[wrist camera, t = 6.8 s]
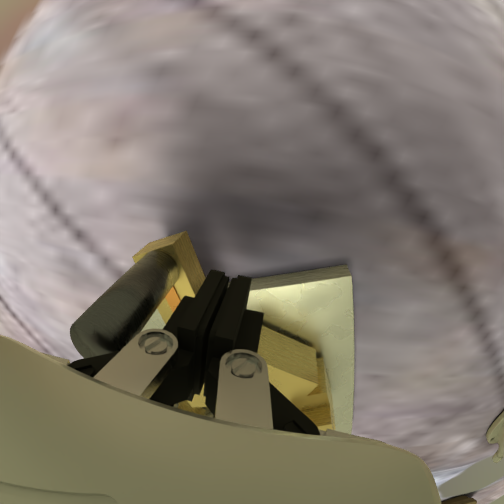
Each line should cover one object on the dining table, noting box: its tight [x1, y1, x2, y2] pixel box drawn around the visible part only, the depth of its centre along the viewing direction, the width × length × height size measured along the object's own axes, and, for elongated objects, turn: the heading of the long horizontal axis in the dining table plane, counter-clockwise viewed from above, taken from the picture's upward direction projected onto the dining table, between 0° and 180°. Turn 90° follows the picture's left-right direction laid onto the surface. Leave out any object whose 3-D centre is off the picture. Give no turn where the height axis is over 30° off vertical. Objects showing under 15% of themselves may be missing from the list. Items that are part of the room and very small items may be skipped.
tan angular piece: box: [70, 231, 336, 431], centre depth 14 cm, size 18×12×8 cm
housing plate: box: [141, 264, 354, 434], centre depth 17 cm, size 16×17×8 cm
